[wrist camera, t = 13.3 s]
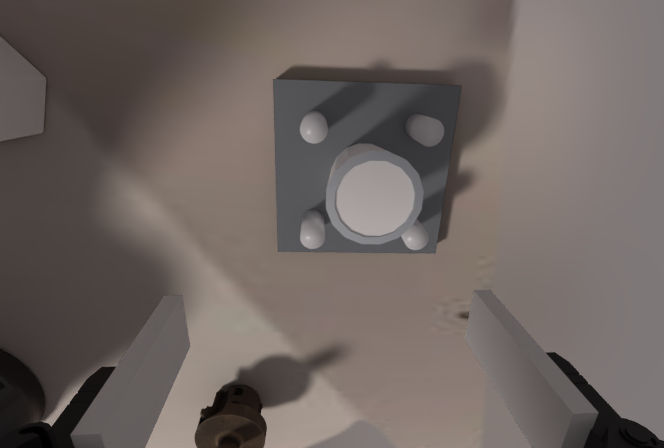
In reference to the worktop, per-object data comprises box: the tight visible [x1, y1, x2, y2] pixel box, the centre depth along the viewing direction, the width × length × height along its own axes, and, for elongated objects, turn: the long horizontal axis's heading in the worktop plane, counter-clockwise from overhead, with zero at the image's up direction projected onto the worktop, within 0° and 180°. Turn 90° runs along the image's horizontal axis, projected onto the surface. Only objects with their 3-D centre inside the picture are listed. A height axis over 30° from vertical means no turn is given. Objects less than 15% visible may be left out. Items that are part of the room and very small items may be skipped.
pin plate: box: [273, 79, 461, 253], centre depth 30 cm, size 15×15×6 cm
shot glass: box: [326, 143, 424, 244], centre depth 28 cm, size 7×7×7 cm
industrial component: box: [195, 385, 267, 448], centre depth 36 cm, size 9×7×12 cm
